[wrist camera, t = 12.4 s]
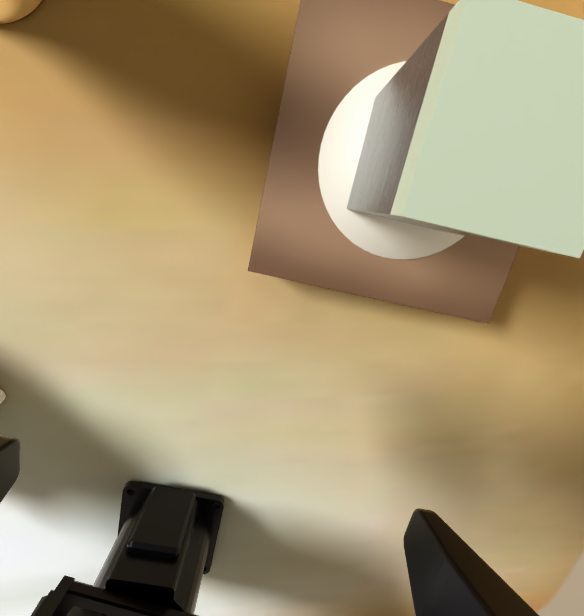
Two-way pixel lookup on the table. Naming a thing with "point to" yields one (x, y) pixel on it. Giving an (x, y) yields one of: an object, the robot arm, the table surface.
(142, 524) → the robot arm
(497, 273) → the walnut step
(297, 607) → the table surface
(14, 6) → the beer glass
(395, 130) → the metal column
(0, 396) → the container
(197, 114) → the table surface
